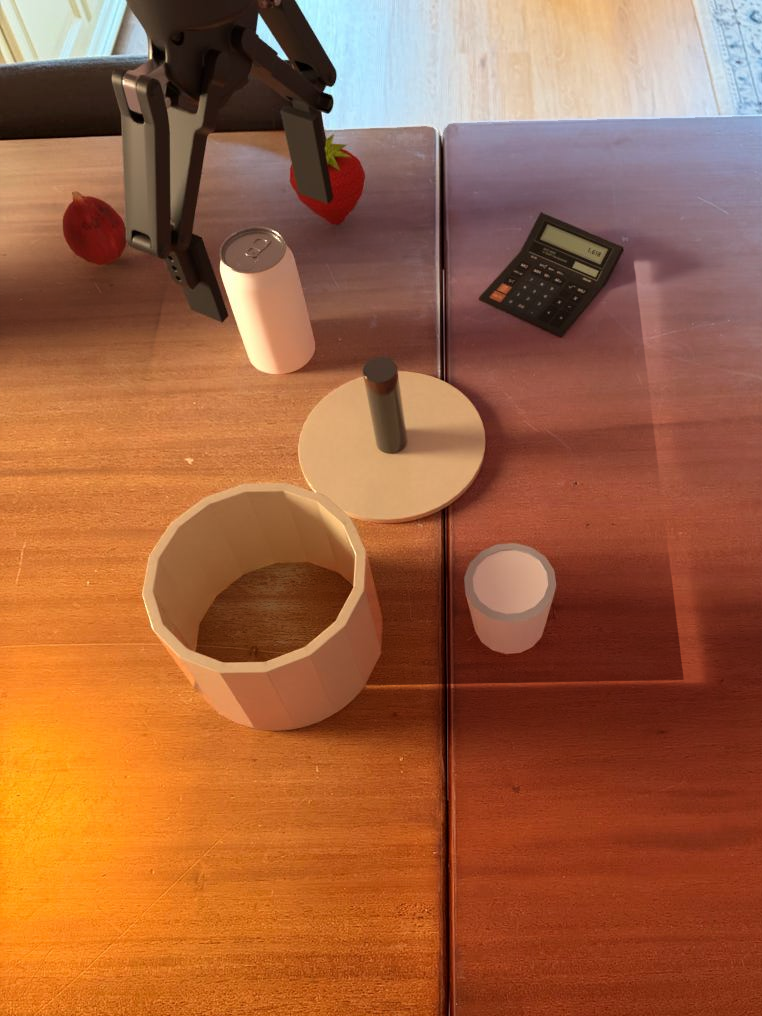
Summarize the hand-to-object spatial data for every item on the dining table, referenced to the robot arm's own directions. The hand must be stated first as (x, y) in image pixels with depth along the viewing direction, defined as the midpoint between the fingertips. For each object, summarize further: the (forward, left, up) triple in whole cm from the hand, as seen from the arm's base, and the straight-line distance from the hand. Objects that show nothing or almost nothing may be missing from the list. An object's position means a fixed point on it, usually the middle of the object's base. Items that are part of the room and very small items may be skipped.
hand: (265, 252), depth 68 cm
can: (-4, +9, -20) cm, 22 cm away
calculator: (+22, +17, -20) cm, 34 cm away
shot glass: (+17, -21, -20) cm, 33 cm away
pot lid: (+7, -3, -19) cm, 20 cm away
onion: (-23, +22, -20) cm, 37 cm away
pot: (-1, -22, -19) cm, 29 cm away
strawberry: (0, +27, -20) cm, 33 cm away
